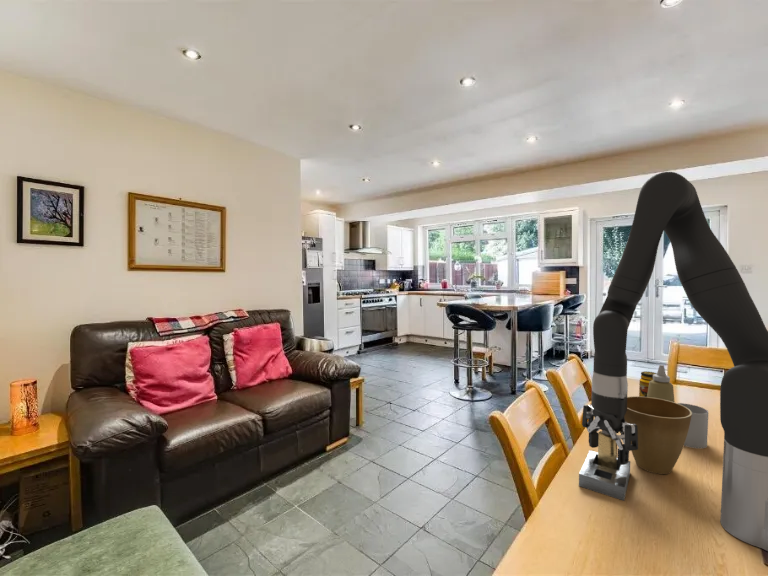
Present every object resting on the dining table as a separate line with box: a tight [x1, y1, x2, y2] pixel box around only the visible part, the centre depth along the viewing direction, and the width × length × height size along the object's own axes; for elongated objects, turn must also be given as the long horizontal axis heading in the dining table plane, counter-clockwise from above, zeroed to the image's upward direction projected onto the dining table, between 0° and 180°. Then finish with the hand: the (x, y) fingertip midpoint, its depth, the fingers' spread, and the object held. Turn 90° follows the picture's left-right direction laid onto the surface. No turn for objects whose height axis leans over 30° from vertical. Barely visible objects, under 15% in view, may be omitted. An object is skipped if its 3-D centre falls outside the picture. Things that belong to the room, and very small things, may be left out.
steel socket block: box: [578, 450, 631, 501], centre depth 89 cm, size 14×9×3 cm, turn 142°
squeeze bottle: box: [647, 364, 676, 403], centre depth 126 cm, size 8×8×18 cm
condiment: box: [638, 371, 657, 397], centre depth 138 cm, size 7×8×12 cm
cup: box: [677, 402, 709, 449], centre depth 108 cm, size 8×8×10 cm
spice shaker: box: [597, 429, 618, 470], centre depth 91 cm, size 4×4×11 cm
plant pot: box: [624, 395, 692, 475], centre depth 94 cm, size 15×15×16 cm
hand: (607, 455), depth 91 cm, fingers open, 8 cm apart
